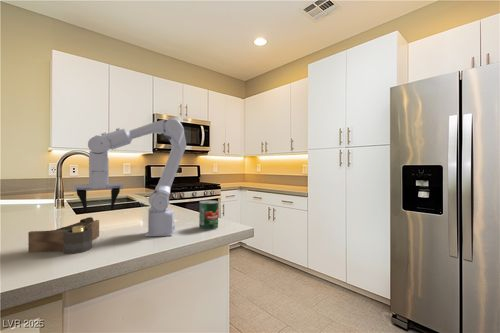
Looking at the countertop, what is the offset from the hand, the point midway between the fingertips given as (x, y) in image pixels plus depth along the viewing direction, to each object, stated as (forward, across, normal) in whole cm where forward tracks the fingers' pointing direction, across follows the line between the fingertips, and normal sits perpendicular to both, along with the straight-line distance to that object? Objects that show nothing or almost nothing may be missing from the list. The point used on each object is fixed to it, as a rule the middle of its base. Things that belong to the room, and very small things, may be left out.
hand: (99, 211), depth 83 cm
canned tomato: (+11, -39, +4) cm, 41 cm away
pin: (+10, +6, +6) cm, 13 cm away
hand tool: (+11, +8, -15) cm, 20 cm away
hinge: (+10, +8, 0) cm, 13 cm away
